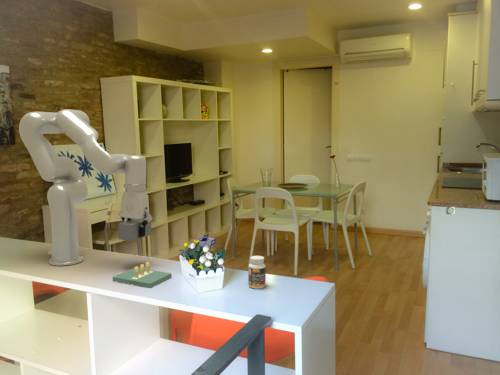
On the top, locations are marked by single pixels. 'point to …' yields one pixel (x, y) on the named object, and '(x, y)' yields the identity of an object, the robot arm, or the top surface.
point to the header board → (142, 276)
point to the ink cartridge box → (205, 239)
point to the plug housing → (132, 230)
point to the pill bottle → (256, 272)
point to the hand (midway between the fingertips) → (135, 234)
